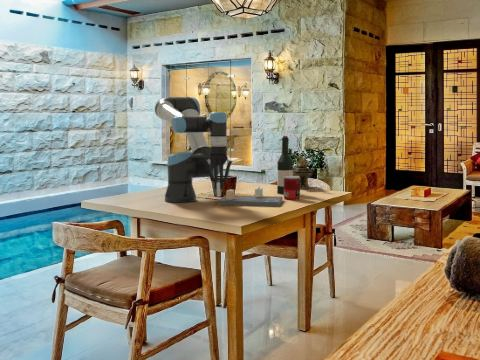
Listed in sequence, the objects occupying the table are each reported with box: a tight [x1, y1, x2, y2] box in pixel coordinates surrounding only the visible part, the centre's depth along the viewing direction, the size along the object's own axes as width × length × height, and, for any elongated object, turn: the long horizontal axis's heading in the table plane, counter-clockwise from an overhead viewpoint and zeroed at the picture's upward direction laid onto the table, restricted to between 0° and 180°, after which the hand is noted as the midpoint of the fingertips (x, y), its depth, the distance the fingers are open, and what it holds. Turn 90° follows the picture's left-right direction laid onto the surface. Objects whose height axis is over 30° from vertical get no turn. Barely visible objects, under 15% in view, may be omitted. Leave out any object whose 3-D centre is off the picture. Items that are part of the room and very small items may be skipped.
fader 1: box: [225, 188, 236, 200], centre depth 241 cm, size 3×5×4 cm, turn 170°
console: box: [218, 194, 283, 207], centre depth 245 cm, size 28×16×2 cm, turn 80°
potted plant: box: [293, 152, 313, 190], centre depth 291 cm, size 20×10×20 cm, turn 7°
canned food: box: [283, 176, 301, 201], centre depth 255 cm, size 8×8×11 cm
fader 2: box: [254, 186, 264, 197], centre depth 248 cm, size 3×5×4 cm, turn 170°
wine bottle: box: [276, 135, 294, 195], centre depth 271 cm, size 8×8×30 cm
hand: (219, 196), depth 242 cm, fingers closed
